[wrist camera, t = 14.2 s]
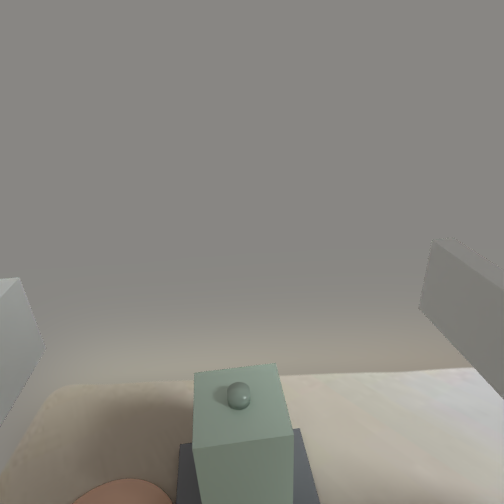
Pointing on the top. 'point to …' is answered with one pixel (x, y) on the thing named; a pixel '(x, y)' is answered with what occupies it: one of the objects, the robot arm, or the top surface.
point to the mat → (302, 476)
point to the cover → (242, 437)
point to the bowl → (125, 493)
